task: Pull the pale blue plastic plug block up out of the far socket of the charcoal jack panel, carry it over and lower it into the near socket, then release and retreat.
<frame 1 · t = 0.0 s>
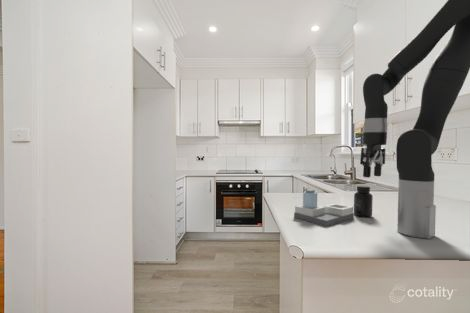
hand: (372, 176, 90), 17 cm above the counter, tool pointing down, fingers open, 8 cm apart
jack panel: (324, 217, 98), on the counter
plug: (309, 213, 97), point 2 cm above the counter, touching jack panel
supplement bottle: (362, 216, 103), on the counter
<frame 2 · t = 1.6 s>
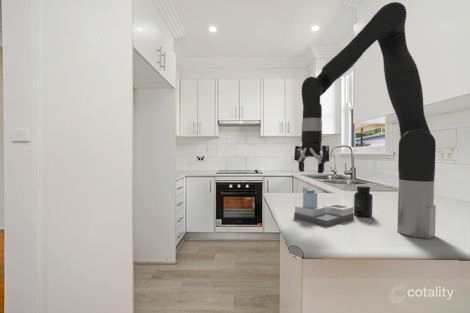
hand: (310, 172, 97), 18 cm above the counter, tool pointing down, fingers open, 8 cm apart
nothing on the counter moved.
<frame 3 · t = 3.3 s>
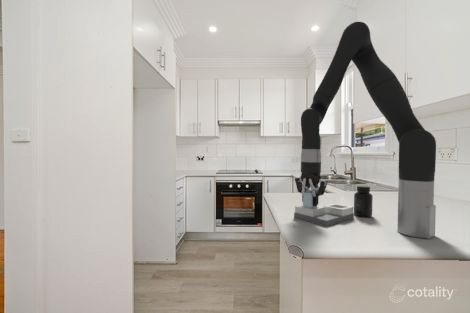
hand: (310, 204, 97), 5 cm above the counter, tool pointing down, fingers closed on plug, 3 cm apart
plug: (309, 213, 97), point 2 cm above the counter, touching gripper, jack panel
everything else where it was.
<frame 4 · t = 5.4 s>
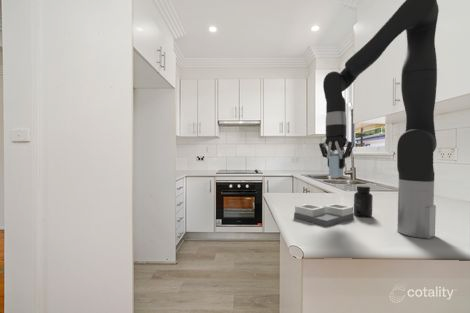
hand: (336, 168, 97), 20 cm above the counter, tool pointing down, fingers closed on plug, 3 cm apart
plug: (336, 176, 97), point 16 cm above the counter, touching gripper
everything else where it was.
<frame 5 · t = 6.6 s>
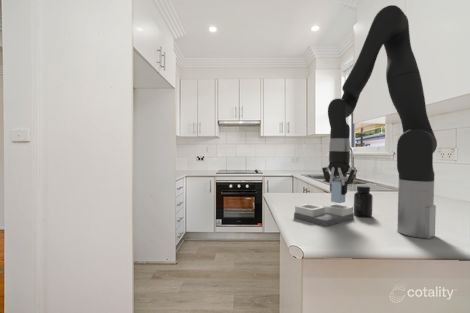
hand: (338, 193, 98), 10 cm above the counter, tool pointing down, fingers closed on plug, 3 cm apart
plug: (338, 201, 98), point 6 cm above the counter, touching gripper
everything else where it was.
when the fingers open (6 cm above the counter, at t = 7.6 s): plug stays where it is, resting on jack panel.
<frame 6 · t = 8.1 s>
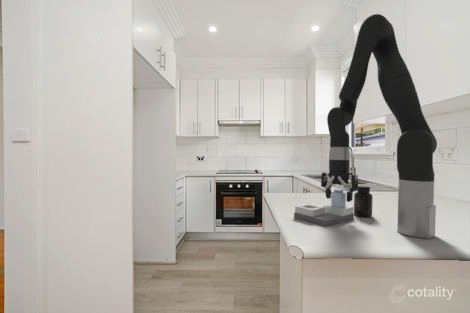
hand: (338, 199, 98), 7 cm above the counter, tool pointing down, fingers open, 8 cm apart
plug: (338, 212, 98), point 2 cm above the counter, touching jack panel
everything else where it was.
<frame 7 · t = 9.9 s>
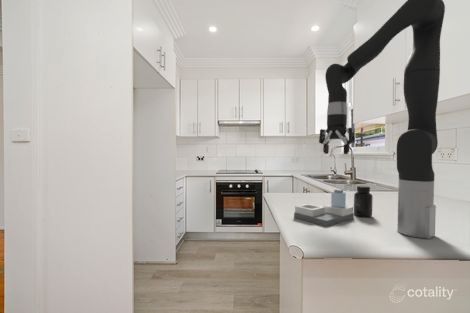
hand: (335, 153, 103), 25 cm above the counter, tool pointing down, fingers open, 8 cm apart
nothing on the counter moved.
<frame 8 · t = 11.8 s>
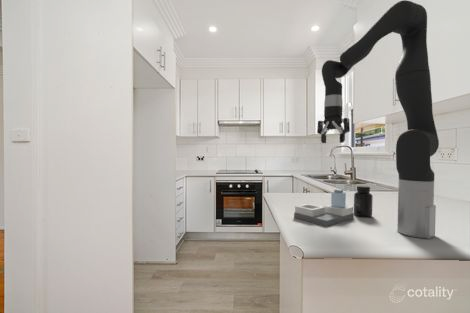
hand: (332, 142, 111), 30 cm above the counter, tool pointing down, fingers open, 8 cm apart
nothing on the counter moved.
at the end: plug 0.0 cm from the target spot on the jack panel, point 2.0 cm above the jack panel's base; plug tilted 0°; the gripper is holding nothing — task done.
